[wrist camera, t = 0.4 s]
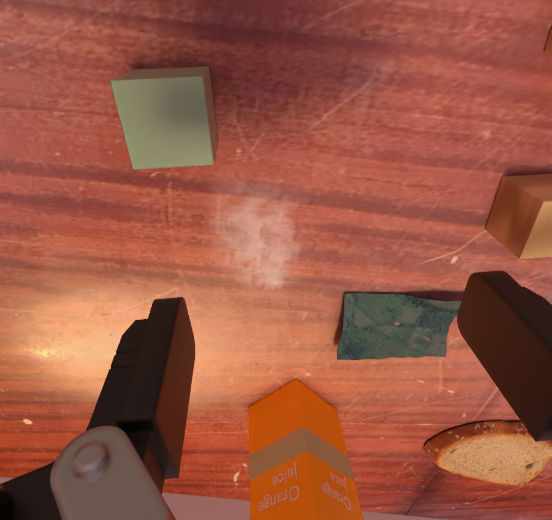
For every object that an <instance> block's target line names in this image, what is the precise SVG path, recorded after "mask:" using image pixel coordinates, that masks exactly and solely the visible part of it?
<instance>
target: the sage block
mask: <svg viewBox="0 0 552 520" xmlns="http://www.w3.org/2000/svg"><path fill="white" fill-rule="evenodd" d="M110 82H111V86H112V90H113V94H114V98H115V102H116V106H117V109H118V113H119V117H120V121H121V125H122V129H123V133H124V137H125V140H126V144H127V148H128V152H129V156H130V160H131V164H132V167H133V169H134V170H135V169H153V168H171V167H188V166H206V165H214V162H215V157H216V151H217V146H218V135H217V127H216V118H215V110H214V101H213V93H212V84H211V76H210V68H209V66H202V67H179V68H156V69H133V70H131V71H129V72H127V73H125V74H123V75H121V76H119V77H117V78H115V79H113V80H110Z"/></svg>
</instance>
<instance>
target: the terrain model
mask: <svg viewBox="0 0 552 520" xmlns="http://www.w3.org/2000/svg"><path fill="white" fill-rule="evenodd" d="M460 304H461V301H436V300H429V299H423V298H418V297H413V296H408V295H403V294H371V293H348V294H345V297H344V321H343V330H342V334H341V338H340V340H339V344H338V349H337V360H343V359H345V360H360V359H384V358H389V357H399V358H404V357H415V358H418V357H424V356H436V357H446V339H447V334H448V329H449V325H450V324H451V322H452V321H453V319H454V318H455V316H457V315H458V311H459V308H460Z"/></svg>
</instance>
